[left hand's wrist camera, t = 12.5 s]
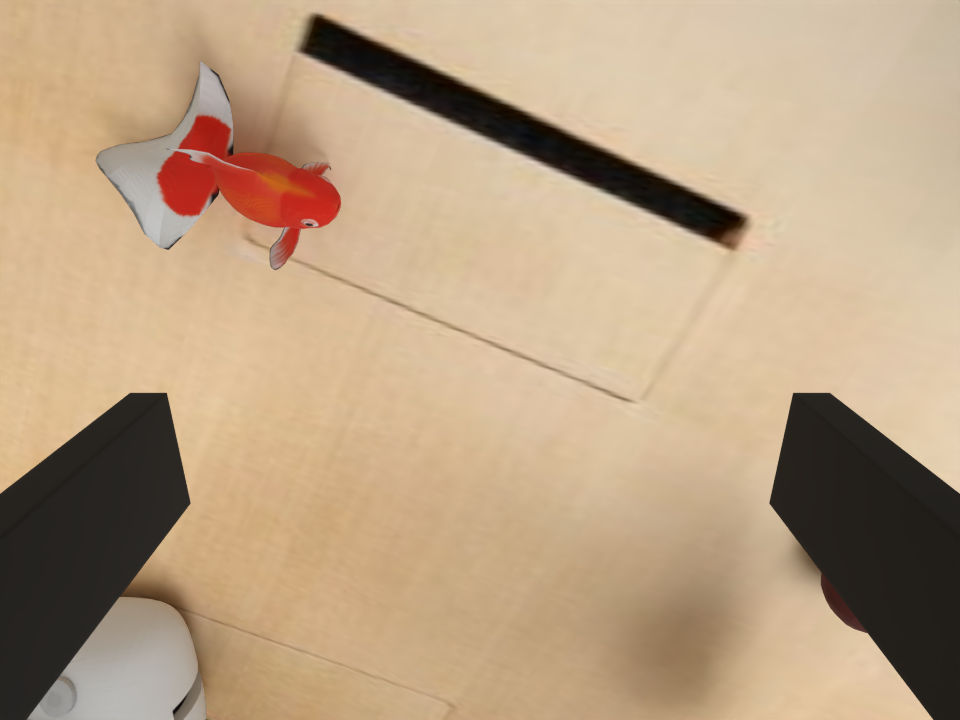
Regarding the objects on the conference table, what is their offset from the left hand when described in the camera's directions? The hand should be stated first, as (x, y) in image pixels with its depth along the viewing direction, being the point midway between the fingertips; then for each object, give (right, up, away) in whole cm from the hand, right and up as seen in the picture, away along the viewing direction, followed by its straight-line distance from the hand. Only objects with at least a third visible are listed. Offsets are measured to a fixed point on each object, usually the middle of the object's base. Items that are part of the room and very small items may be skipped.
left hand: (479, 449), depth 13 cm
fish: (-16, +14, +28) cm, 35 cm away
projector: (-36, -25, +44) cm, 62 cm away
